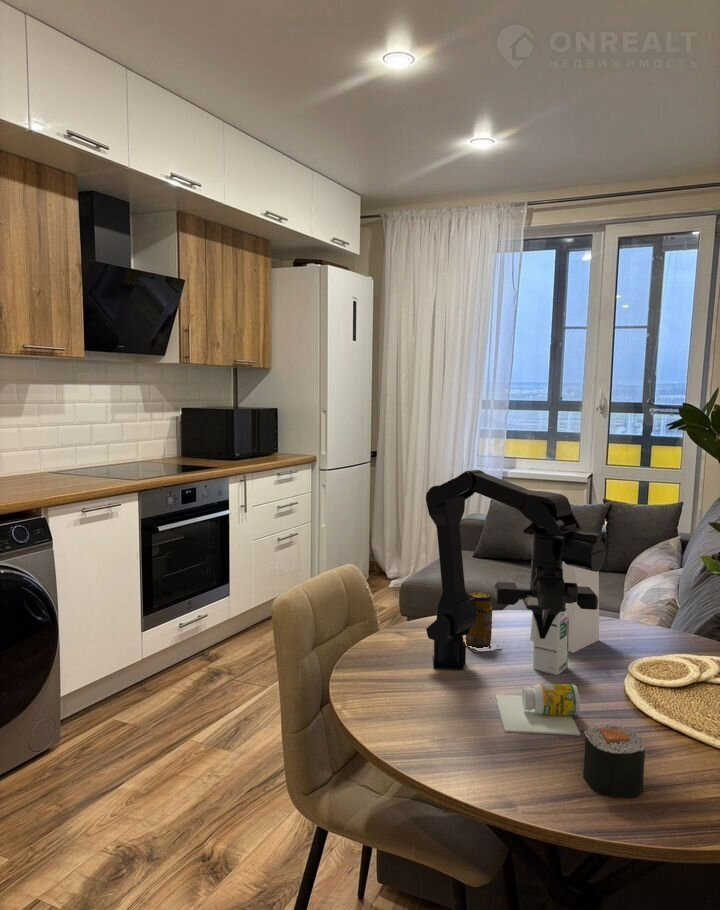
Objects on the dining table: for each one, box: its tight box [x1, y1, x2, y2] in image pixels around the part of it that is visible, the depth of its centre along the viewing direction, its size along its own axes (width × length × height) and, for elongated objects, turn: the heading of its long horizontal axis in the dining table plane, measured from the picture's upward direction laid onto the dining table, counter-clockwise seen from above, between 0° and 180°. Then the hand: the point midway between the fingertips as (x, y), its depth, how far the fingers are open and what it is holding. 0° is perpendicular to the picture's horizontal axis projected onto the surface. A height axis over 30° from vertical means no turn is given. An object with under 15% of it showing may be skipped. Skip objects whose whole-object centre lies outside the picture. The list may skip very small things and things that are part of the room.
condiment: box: [463, 591, 498, 653], centre depth 157 cm, size 7×8×12 cm
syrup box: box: [532, 603, 569, 676], centre depth 144 cm, size 6×6×14 cm
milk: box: [529, 561, 600, 653], centre depth 161 cm, size 12×12×26 cm
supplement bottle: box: [521, 683, 581, 716], centre depth 123 cm, size 5×5×10 cm
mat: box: [494, 694, 581, 736], centre depth 124 cm, size 13×14×1 cm
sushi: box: [582, 724, 647, 799], centre depth 102 cm, size 8×8×8 cm
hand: (542, 638), depth 129 cm, fingers closed
